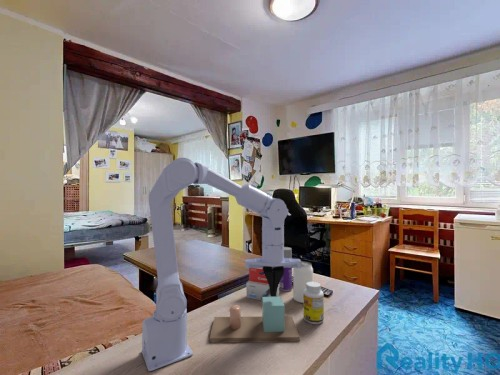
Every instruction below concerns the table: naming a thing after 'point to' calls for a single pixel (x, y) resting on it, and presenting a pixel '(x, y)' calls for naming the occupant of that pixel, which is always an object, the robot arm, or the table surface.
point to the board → (251, 331)
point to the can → (301, 280)
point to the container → (286, 273)
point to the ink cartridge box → (258, 285)
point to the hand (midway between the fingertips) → (273, 294)
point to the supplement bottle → (313, 303)
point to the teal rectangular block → (273, 314)
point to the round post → (235, 317)
